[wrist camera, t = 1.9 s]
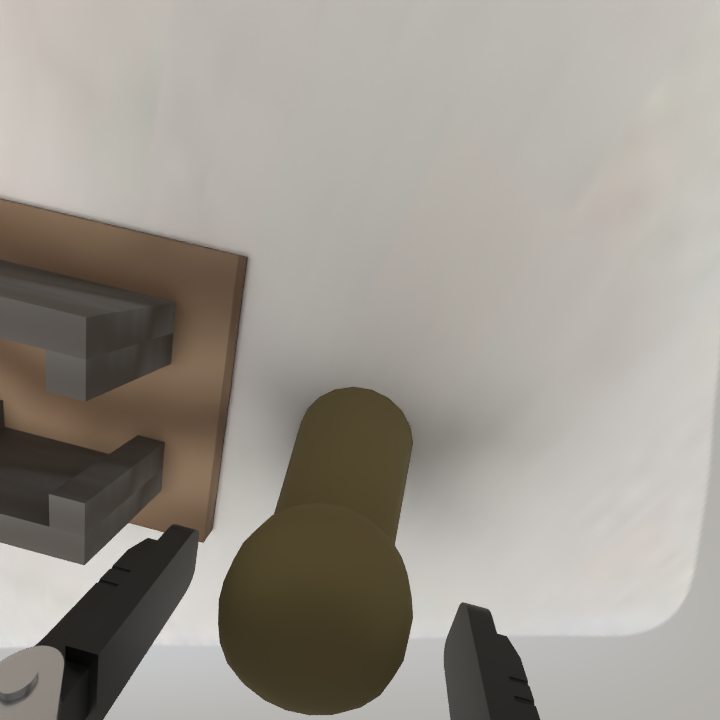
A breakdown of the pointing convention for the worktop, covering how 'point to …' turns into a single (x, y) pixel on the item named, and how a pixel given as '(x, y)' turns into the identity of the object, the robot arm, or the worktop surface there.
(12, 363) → the collar block
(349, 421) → the olive pawn
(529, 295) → the worktop surface
